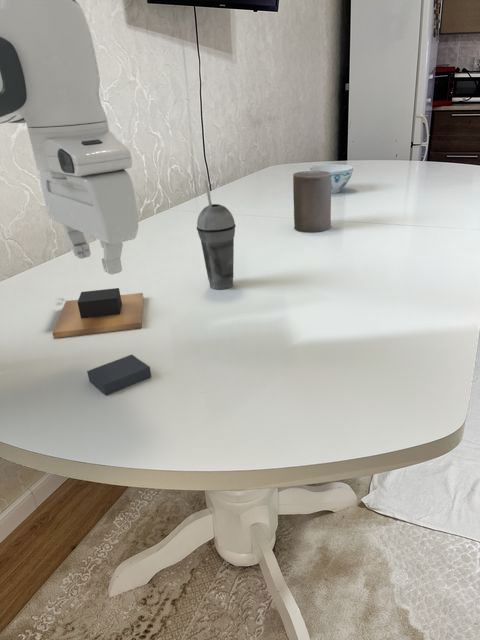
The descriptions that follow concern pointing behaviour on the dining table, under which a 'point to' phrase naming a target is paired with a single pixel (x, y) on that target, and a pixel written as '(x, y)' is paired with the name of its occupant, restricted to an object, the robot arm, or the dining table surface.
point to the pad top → (119, 374)
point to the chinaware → (336, 175)
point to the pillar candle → (312, 201)
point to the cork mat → (100, 318)
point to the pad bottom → (99, 303)
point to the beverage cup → (217, 243)
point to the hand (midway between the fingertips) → (97, 264)
